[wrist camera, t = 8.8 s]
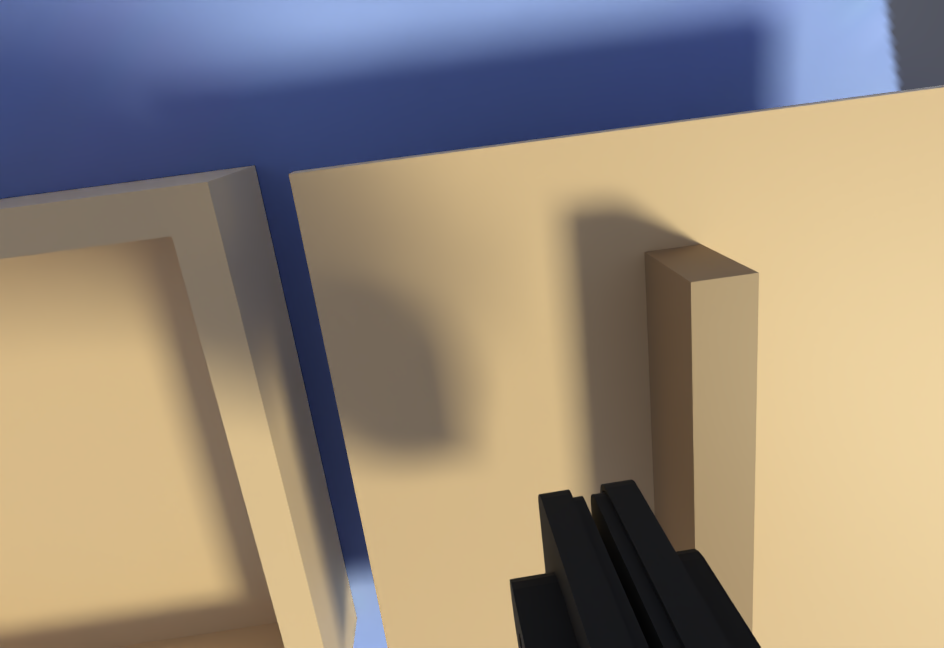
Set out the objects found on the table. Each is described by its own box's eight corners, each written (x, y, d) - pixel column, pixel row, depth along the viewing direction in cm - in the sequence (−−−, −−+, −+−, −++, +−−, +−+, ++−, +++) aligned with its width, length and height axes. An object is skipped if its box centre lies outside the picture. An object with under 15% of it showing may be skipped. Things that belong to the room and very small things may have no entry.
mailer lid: (294, 171, 13) (257, 189, 10) (1013, 76, 14) (1174, 68, 11) (408, 724, 18) (405, 843, 15) (937, 641, 18) (1034, 742, 15)
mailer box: (-328, 242, 17) (-547, 281, 13) (255, 165, 17) (207, 181, 13) (-95, 686, 22) (-206, 809, 18) (357, 618, 22) (342, 724, 18)
